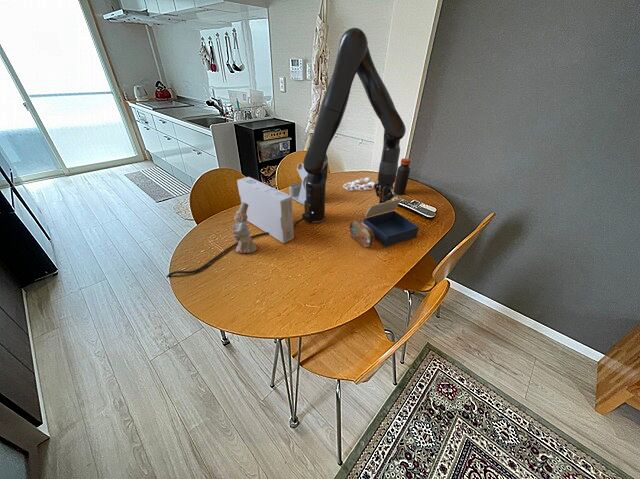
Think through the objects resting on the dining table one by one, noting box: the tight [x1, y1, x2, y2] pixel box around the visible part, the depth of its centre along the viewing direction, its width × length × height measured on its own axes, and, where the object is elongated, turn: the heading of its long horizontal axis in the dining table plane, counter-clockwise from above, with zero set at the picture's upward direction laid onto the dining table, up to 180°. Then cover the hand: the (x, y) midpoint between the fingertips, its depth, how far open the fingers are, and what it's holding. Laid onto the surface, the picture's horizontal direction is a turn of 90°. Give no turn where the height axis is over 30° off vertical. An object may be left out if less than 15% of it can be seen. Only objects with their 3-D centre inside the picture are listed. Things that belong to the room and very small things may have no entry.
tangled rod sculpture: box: [342, 176, 376, 192], centre depth 159 cm, size 19×14×4 cm
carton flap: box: [364, 198, 403, 218], centre depth 118 cm, size 18×8×1 cm
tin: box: [349, 219, 376, 248], centre depth 110 cm, size 15×3×8 cm, turn 27°
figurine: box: [231, 202, 258, 254], centre depth 101 cm, size 9×8×20 cm
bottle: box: [393, 157, 411, 196], centre depth 149 cm, size 7×7×20 cm
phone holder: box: [288, 162, 308, 206], centre depth 141 cm, size 17×10×18 cm, turn 42°
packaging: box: [236, 176, 295, 244], centre depth 114 cm, size 30×6×20 cm, turn 47°
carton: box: [363, 210, 420, 248], centre depth 117 cm, size 18×17×5 cm
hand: (381, 207), depth 119 cm, fingers closed
